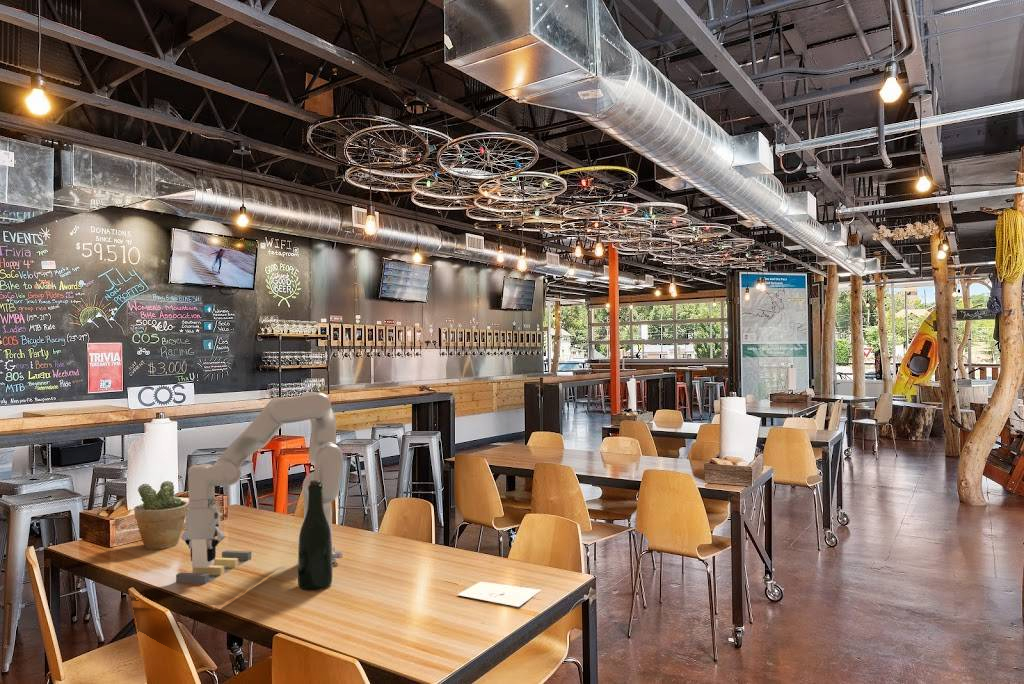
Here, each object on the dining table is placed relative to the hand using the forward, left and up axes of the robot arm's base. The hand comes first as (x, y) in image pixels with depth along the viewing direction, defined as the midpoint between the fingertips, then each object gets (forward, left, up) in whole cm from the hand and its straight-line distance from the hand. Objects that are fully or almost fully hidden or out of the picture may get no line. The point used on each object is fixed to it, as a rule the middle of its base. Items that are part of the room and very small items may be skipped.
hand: (203, 559), depth 204 cm
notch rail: (+1, -8, -7) cm, 10 cm away
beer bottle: (-37, -2, -8) cm, 38 cm away
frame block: (0, 0, -2) cm, 2 cm away
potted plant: (+43, -37, -8) cm, 57 cm away
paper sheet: (-98, -8, -8) cm, 99 cm away
